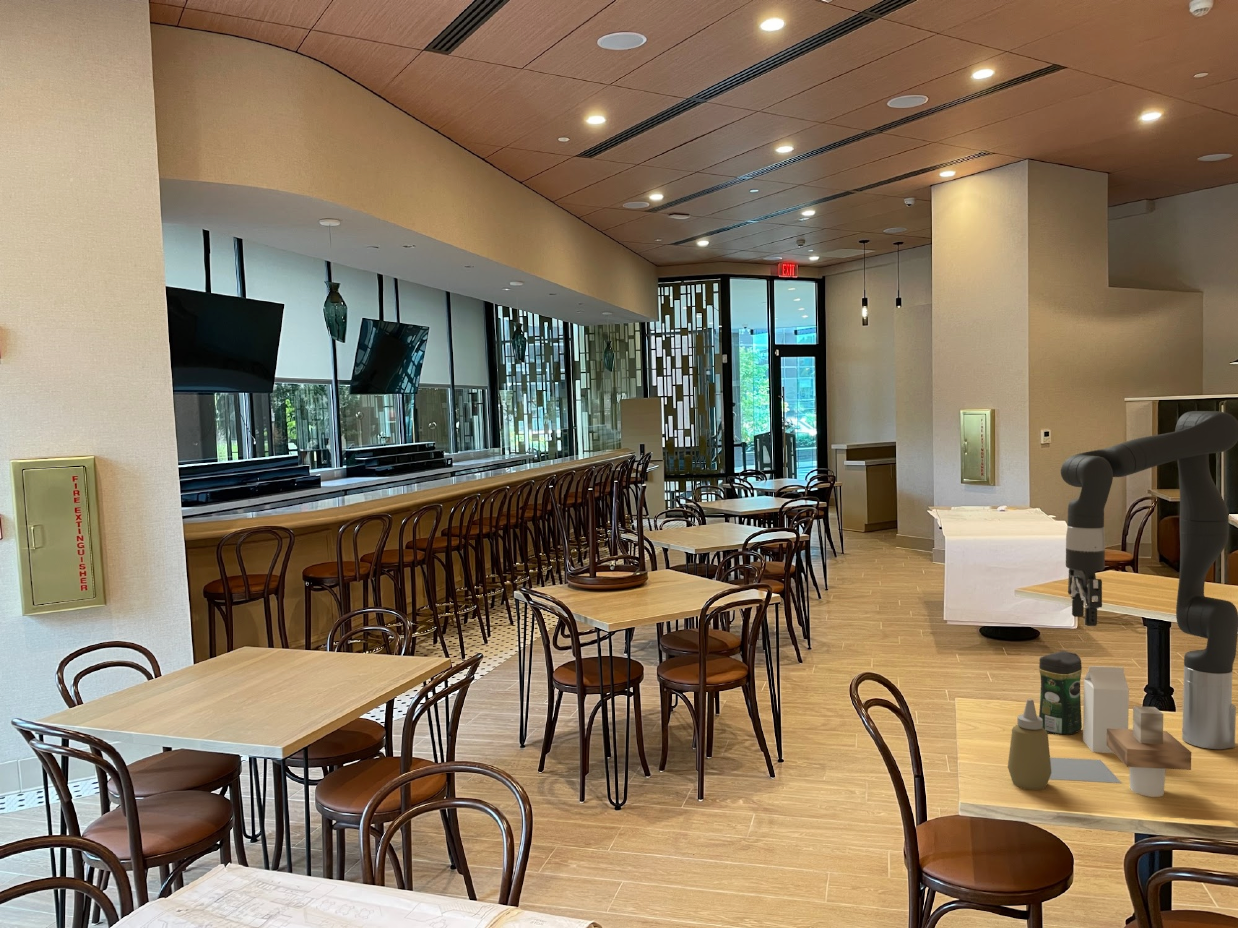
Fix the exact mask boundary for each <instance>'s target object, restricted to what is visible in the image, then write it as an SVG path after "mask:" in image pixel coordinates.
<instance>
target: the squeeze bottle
mask: <svg viewBox="0 0 1238 928" xmlns="http://www.w3.org/2000/svg"><path fill="white" fill-rule="evenodd" d="M1023 710H1024V711H1023V714H1019V715H1018V716H1017V721H1016V723H1017V724H1016V725H1014V726H1013V727H1012V729H1011V737H1010V746H1009V753H1008V760H1007V762H1008V763H1007V770H1008V772H1009V775H1010V778H1011V781H1012V783H1013V785H1015V786H1016V787H1018V788H1021V789H1024V790H1028V791H1042V790H1044V789H1046V788H1047V786H1048V782H1049V780H1050V779H1049V778H1050V776H1051V773H1052V772H1051V762H1050V757H1051V753H1050V742H1049V733H1047V731H1046V730H1045V729H1043V728H1042V727H1043V720H1042V718H1040V717H1039V715H1037V711H1036V706H1035V701H1034V699H1031V698H1030V699H1029V698H1028V699H1026V702H1025V706H1024V709H1023Z"/></svg>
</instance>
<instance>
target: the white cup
mask: <svg viewBox="0 0 1238 928" xmlns="http://www.w3.org/2000/svg"><path fill="white" fill-rule="evenodd" d="M1128 769H1129V789H1130V790H1131V792H1133V793H1136V794H1137V795H1141V796H1144V797H1149V798H1150V797H1152V798H1156V797H1157V798H1159V797H1163V796H1164V795H1165V794H1164V793H1165V783H1166V770H1167V769H1160V768H1141V767H1128Z"/></svg>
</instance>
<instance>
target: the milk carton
mask: <svg viewBox="0 0 1238 928" xmlns="http://www.w3.org/2000/svg"><path fill="white" fill-rule="evenodd" d="M1124 671H1125V668H1124V667H1123V666H1120V667H1119V666H1101V665H1100V666H1099V665H1097V666H1096V665H1089V666H1088V671H1087V672H1086V675H1085V676H1084V678H1083V711H1082V713H1083V714H1082V715H1083V718H1082V719H1083V720H1082V725H1083V726H1082V728H1083V729H1082V741H1083V742H1084V744H1085V745H1086V746H1087V747H1088V748H1089V750H1090V751H1091V752H1093V753H1099V754H1100V753H1103V754H1106V753H1107V754H1114V753H1113V751H1112V750H1111V749H1110V748H1109V747H1108V746H1107V728H1108V729H1129V709H1130V706H1129V705H1130V704H1129V702H1130V701H1129V700H1130V688H1129V685H1128V681H1127V679H1126V675H1125V672H1124Z"/></svg>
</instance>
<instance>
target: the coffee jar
mask: <svg viewBox="0 0 1238 928" xmlns="http://www.w3.org/2000/svg"><path fill="white" fill-rule="evenodd" d="M1038 664H1039V665H1038V671H1039V675H1040V697H1039V699H1040V700H1039V715H1038V717H1040V718H1042V720H1043V727H1042V728H1043V729H1045V730H1046V731H1047V733H1048V734H1050V735H1057V736H1058V735H1059V736H1070V735H1073V734H1075V733H1078V732H1079V731H1081V729H1082V728H1083V726H1082V725H1083V720H1082V719H1083V718H1082V705H1081V703H1082V702H1081V701H1082V699H1081V680H1082V679H1081V677H1082V672H1083V668H1082V667H1083V666H1082V660H1081V658H1080V656H1079V655H1078V654H1077V653H1073V652H1070V651H1067V650H1066V651H1065V650H1059V651H1057V652H1053V653H1050V654H1046V655H1043V656H1041V657H1039V663H1038Z"/></svg>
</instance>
